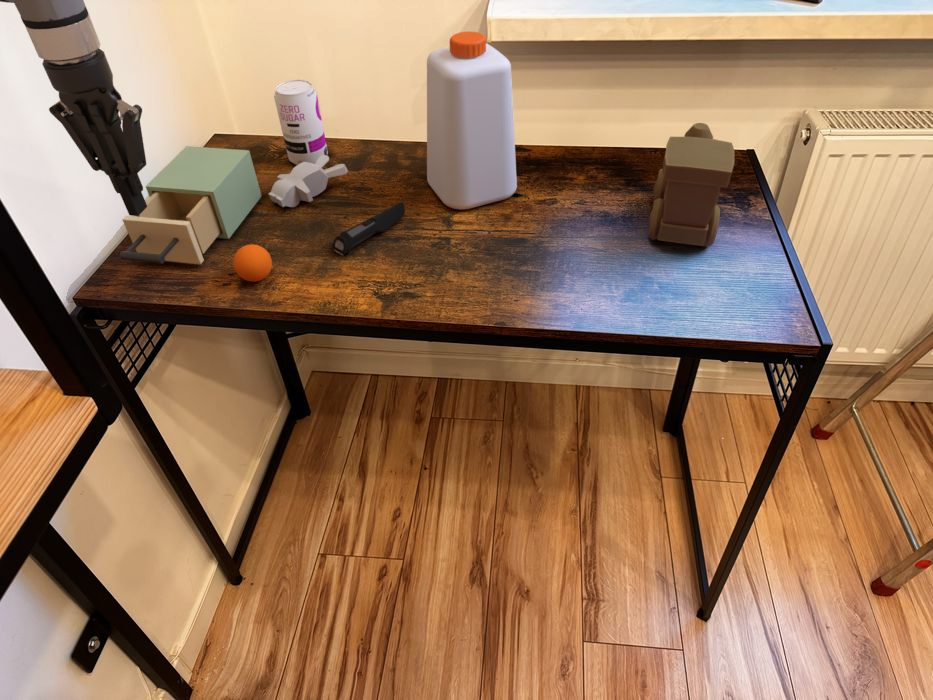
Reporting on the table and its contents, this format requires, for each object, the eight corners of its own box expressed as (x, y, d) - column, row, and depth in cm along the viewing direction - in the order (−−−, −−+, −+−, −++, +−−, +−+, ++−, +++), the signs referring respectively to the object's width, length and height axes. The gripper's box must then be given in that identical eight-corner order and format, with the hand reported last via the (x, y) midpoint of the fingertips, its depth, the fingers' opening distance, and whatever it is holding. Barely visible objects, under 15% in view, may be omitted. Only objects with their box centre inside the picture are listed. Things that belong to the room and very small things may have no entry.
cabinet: (228, 239, 119) (213, 191, 112) (164, 233, 121) (145, 186, 114) (261, 196, 129) (249, 150, 123) (202, 191, 131) (186, 145, 125)
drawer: (183, 287, 108) (166, 247, 103) (119, 280, 110) (100, 241, 104) (235, 220, 122) (223, 182, 116) (178, 215, 124) (163, 177, 118)
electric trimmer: (411, 220, 122) (410, 205, 120) (345, 257, 114) (342, 242, 112) (397, 213, 124) (395, 197, 122) (331, 249, 116) (328, 233, 114)
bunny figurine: (256, 181, 125) (318, 143, 132) (265, 203, 129) (324, 165, 136) (286, 198, 121) (348, 158, 127) (295, 221, 125) (355, 181, 131)
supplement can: (324, 145, 143) (311, 75, 133) (331, 163, 138) (318, 91, 127) (286, 152, 142) (270, 82, 131) (291, 170, 136) (275, 98, 126)
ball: (232, 287, 109) (222, 257, 105) (248, 265, 113) (238, 235, 109) (267, 290, 108) (258, 260, 104) (281, 268, 112) (273, 238, 108)
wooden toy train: (713, 262, 110) (738, 171, 99) (642, 252, 113) (659, 163, 101) (715, 199, 124) (738, 113, 112) (652, 192, 126) (668, 106, 115)
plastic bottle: (490, 162, 136) (490, 16, 117) (524, 197, 126) (529, 44, 107) (421, 179, 132) (408, 30, 113) (450, 216, 122) (442, 60, 103)
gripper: (133, 45, 88) (189, 201, 105) (45, 41, 90) (114, 194, 107) (100, 67, 83) (164, 228, 99) (8, 62, 85) (86, 220, 101)
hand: (138, 210), depth 103 cm, fingers closed
